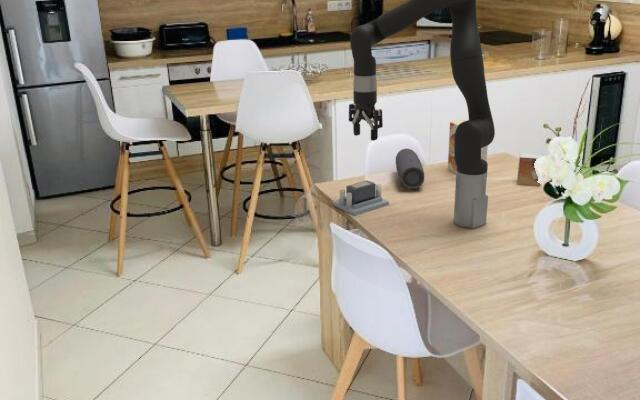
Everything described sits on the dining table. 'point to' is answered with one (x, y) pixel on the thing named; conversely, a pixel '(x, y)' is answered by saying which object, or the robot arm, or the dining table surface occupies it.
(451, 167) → the coffeecake box
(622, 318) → the dining table surface
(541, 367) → the dining table surface
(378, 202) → the pin tray
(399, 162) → the bluetooth speaker
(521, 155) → the small box
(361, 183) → the block
